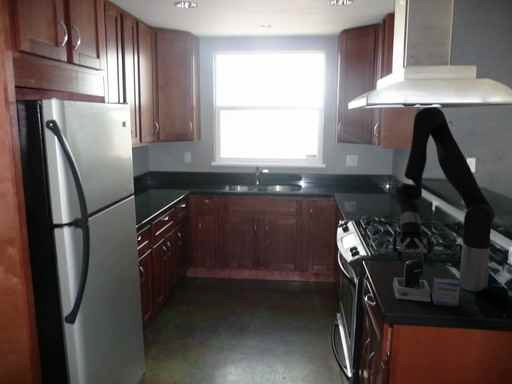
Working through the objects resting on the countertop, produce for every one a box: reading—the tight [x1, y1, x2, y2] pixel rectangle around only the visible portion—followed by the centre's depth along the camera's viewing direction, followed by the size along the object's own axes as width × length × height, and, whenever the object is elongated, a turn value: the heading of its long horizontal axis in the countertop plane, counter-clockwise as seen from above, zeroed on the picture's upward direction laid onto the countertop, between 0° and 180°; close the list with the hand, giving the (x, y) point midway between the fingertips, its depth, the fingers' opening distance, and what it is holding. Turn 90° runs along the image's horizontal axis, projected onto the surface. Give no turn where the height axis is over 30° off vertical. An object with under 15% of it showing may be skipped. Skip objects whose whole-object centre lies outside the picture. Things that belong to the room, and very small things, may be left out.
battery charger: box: [402, 259, 424, 289], centre depth 155 cm, size 7×4×11 cm, turn 112°
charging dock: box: [392, 277, 432, 302], centre depth 156 cm, size 12×13×4 cm
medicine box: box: [431, 277, 461, 307], centre depth 147 cm, size 8×4×9 cm, turn 80°
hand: (412, 262), depth 156 cm, fingers open, 8 cm apart
